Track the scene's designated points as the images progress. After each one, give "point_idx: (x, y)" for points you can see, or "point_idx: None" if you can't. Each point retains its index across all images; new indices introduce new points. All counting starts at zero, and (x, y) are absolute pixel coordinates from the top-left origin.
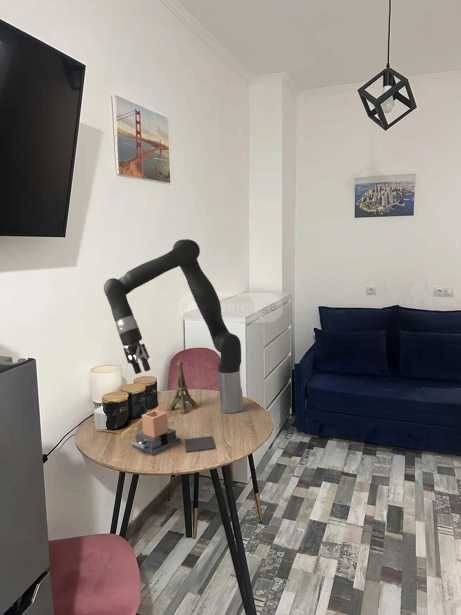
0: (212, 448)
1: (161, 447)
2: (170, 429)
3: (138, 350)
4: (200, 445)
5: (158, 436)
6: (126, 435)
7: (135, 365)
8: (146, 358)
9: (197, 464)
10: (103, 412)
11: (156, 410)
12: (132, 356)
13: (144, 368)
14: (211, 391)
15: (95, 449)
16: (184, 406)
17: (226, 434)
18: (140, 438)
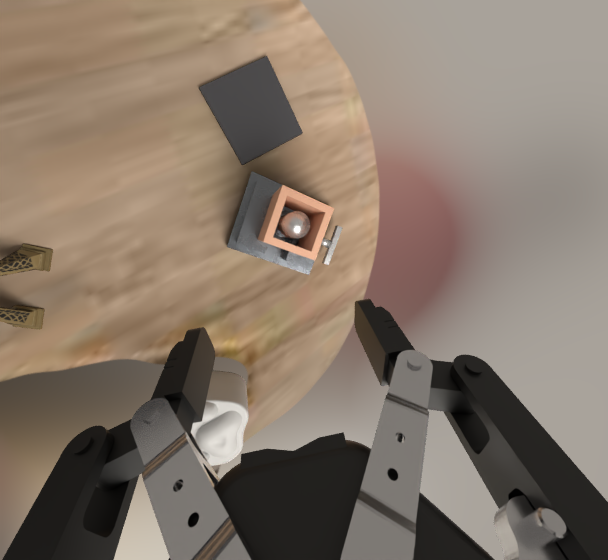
0: (270, 64)
1: None
2: (256, 194)
3: (372, 497)
4: (264, 104)
5: None
6: (253, 326)
7: (407, 345)
8: (170, 412)
9: (344, 85)
10: (240, 425)
11: (268, 233)
12: (515, 396)
13: (210, 368)
14: None
15: (328, 341)
16: (7, 261)
17: (164, 43)
18: None
